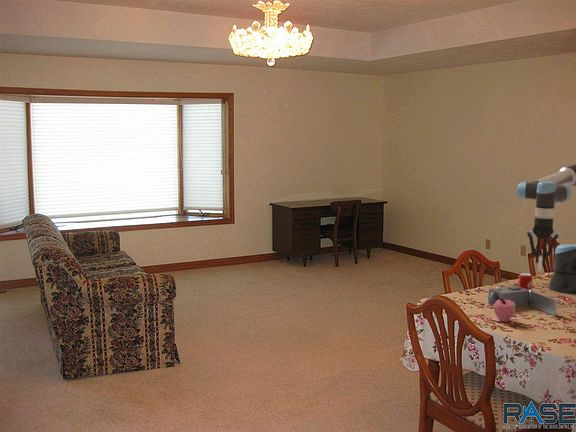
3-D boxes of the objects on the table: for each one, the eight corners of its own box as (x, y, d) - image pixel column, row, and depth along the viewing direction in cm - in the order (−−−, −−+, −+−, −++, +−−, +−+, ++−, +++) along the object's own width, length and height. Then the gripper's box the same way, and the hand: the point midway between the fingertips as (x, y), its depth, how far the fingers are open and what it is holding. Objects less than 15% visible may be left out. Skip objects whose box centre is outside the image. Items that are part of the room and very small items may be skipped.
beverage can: (531, 300, 293) (533, 276, 291) (517, 299, 294) (519, 275, 292) (529, 297, 299) (531, 273, 297) (515, 296, 300) (517, 272, 298)
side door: (527, 304, 285) (528, 290, 284) (531, 304, 285) (532, 289, 284) (553, 315, 269) (555, 300, 268) (557, 315, 270) (558, 299, 269)
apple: (511, 325, 256) (513, 302, 254) (490, 321, 260) (491, 298, 259) (516, 319, 264) (518, 296, 262) (495, 315, 268) (497, 293, 267)
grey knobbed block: (514, 299, 294) (516, 283, 293) (528, 305, 286) (530, 288, 284) (484, 303, 287) (485, 287, 285) (498, 309, 278) (499, 292, 277)
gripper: (527, 217, 267) (523, 270, 271) (560, 219, 261) (555, 274, 265) (528, 215, 274) (524, 267, 277) (560, 217, 268) (556, 270, 272)
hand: (539, 270), depth 271 cm, fingers closed
